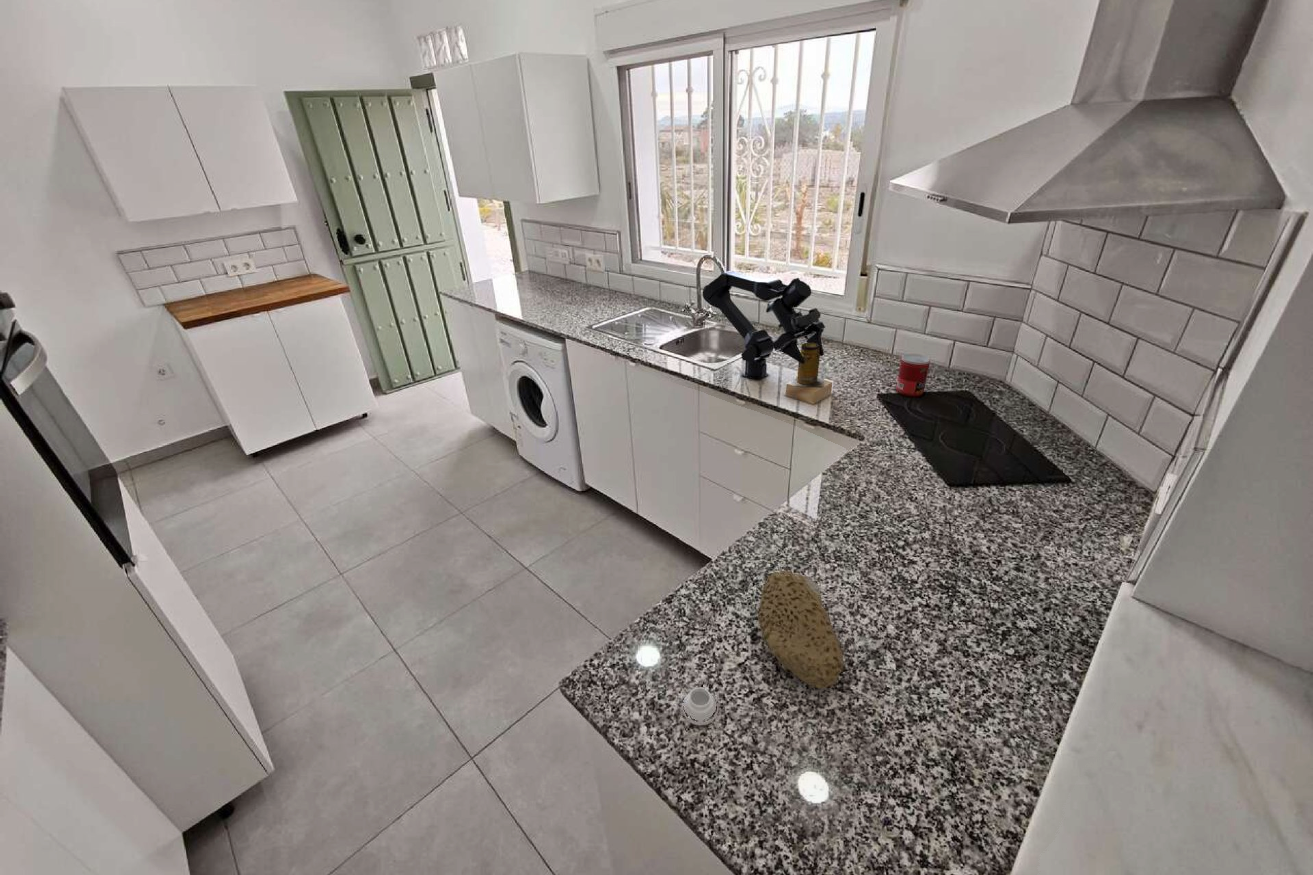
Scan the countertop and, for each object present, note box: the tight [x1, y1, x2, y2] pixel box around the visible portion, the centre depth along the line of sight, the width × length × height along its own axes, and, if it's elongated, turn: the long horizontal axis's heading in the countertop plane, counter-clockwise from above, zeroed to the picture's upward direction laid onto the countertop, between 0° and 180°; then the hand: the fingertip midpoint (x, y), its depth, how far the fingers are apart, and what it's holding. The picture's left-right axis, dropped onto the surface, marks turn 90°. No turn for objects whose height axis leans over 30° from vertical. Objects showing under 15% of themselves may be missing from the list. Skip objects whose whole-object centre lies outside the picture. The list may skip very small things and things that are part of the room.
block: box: [785, 378, 833, 405], centre depth 167 cm, size 10×10×4 cm
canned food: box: [895, 353, 931, 397], centre depth 164 cm, size 8×8×11 cm
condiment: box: [795, 342, 825, 387], centre depth 163 cm, size 7×8×12 cm
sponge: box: [757, 570, 845, 689], centre depth 84 cm, size 13×8×20 cm
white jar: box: [681, 686, 719, 726], centre depth 75 cm, size 5×3×5 cm
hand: (813, 359), depth 162 cm, fingers open, 9 cm apart
